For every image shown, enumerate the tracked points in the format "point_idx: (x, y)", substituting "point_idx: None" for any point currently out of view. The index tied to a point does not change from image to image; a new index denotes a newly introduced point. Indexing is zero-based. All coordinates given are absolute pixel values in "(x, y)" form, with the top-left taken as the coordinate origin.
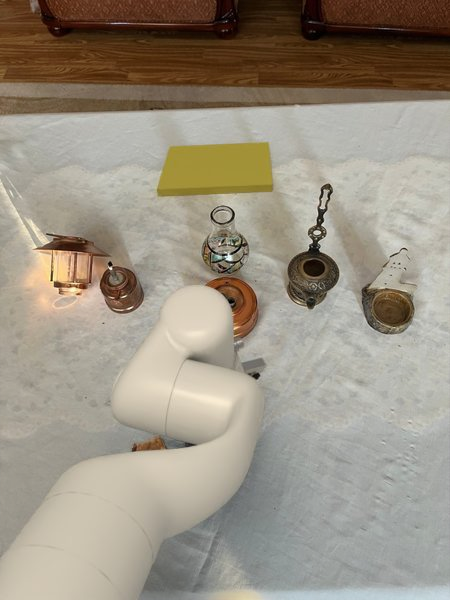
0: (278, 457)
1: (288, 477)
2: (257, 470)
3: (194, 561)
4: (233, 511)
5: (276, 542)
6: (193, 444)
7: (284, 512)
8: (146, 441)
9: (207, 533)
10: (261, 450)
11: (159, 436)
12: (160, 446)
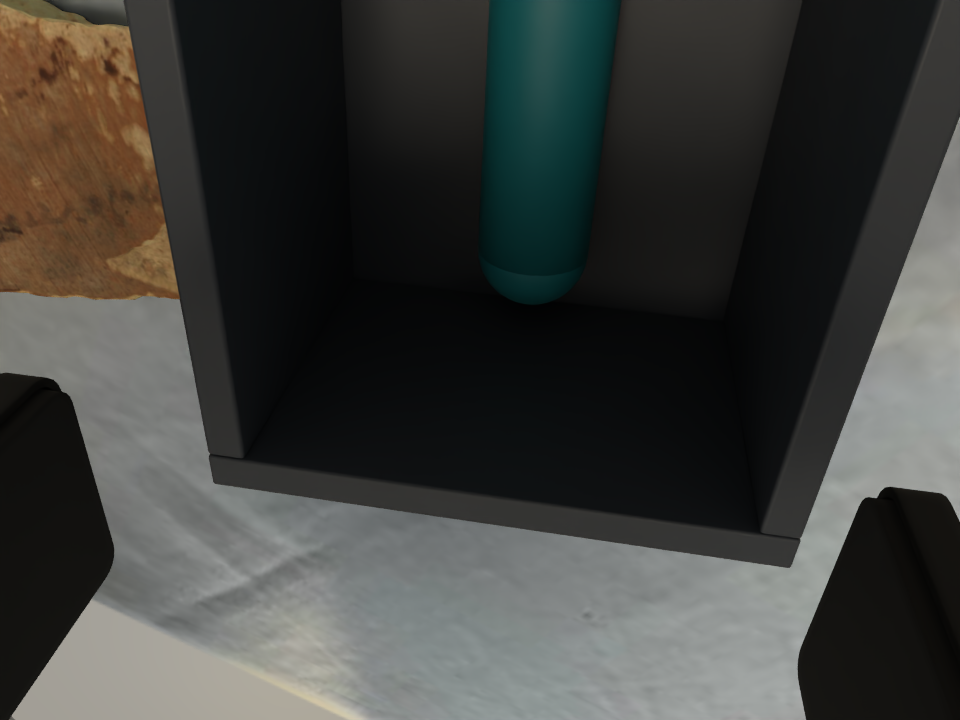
0: None
1: (734, 574)
2: None
3: (189, 571)
4: (416, 537)
5: (515, 682)
6: (365, 197)
7: (613, 643)
8: (42, 18)
9: (273, 535)
10: None
11: None
12: (130, 117)
